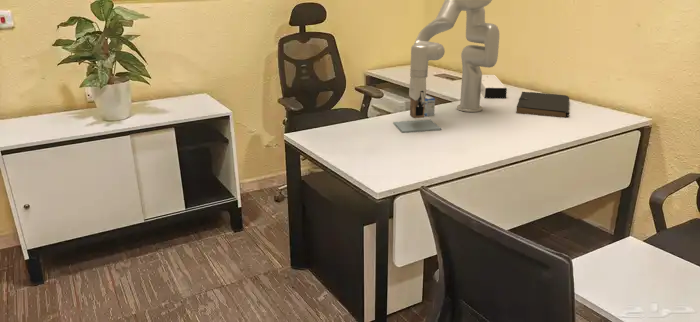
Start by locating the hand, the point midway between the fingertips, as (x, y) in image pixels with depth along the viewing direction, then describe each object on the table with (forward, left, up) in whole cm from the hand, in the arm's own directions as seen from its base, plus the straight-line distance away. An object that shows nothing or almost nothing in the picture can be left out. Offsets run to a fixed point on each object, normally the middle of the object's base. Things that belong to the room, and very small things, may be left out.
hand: (417, 113), depth 238 cm
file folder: (-17, +73, -7) cm, 75 cm away
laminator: (-55, +62, -7) cm, 83 cm away
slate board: (0, 0, -6) cm, 6 cm away
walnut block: (0, 0, -1) cm, 1 cm away
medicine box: (-19, +11, -7) cm, 23 cm away
